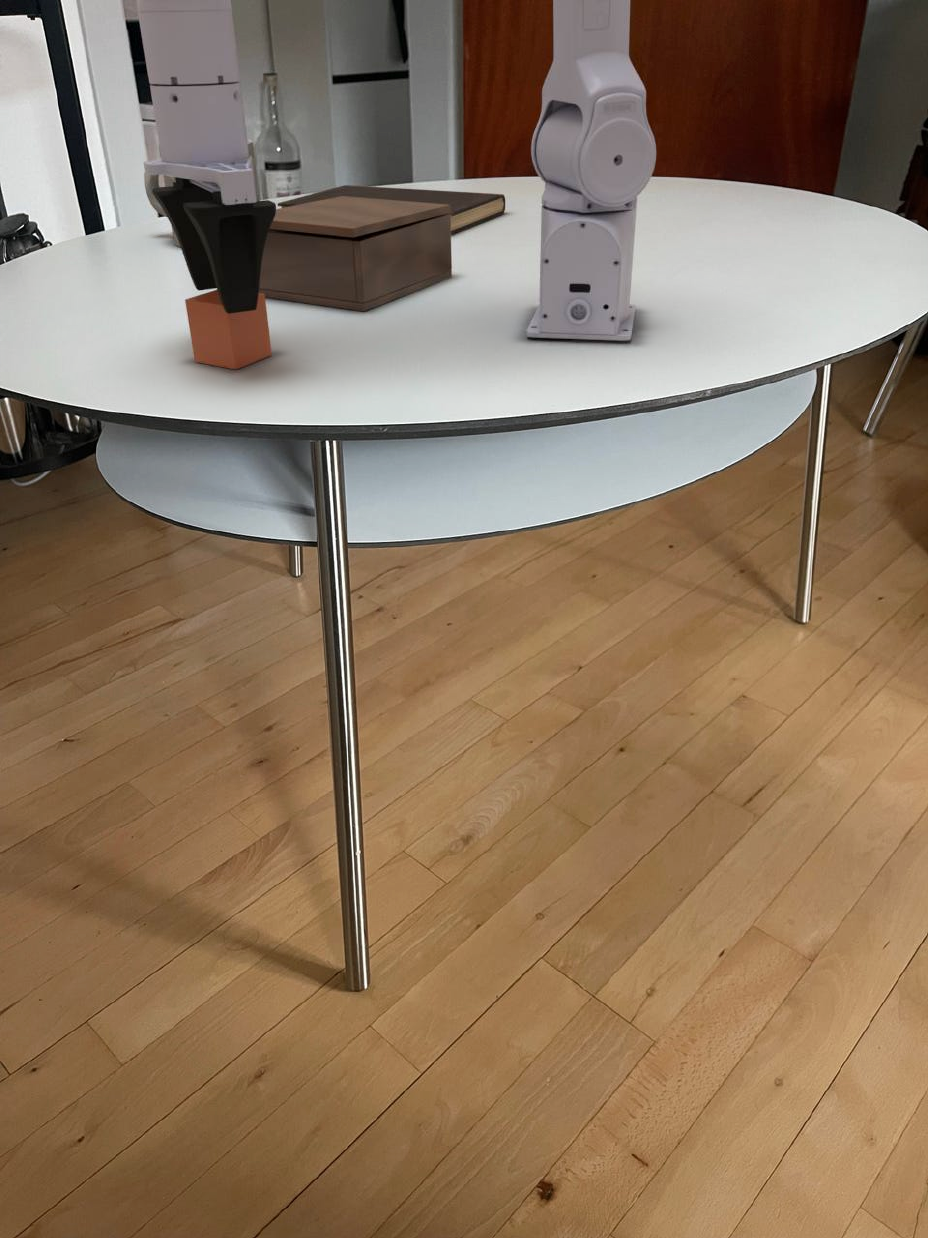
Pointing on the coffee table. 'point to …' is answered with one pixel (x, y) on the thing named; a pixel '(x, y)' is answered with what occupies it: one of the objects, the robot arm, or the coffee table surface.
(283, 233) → the box
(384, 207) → the lid
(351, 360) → the coffee table surface
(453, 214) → the hardcover book
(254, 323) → the block
